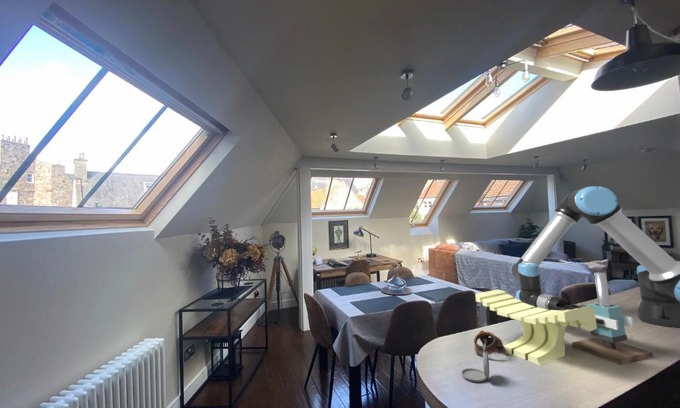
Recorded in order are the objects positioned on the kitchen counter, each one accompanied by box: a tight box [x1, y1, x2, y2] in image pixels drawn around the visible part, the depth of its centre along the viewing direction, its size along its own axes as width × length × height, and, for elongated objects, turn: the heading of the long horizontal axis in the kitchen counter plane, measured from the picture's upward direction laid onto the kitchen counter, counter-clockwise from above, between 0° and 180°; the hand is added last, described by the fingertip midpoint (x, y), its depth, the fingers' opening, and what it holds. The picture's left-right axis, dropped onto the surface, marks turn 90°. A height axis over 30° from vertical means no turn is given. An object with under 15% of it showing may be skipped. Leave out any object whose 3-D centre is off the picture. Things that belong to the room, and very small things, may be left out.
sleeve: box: [587, 302, 627, 338], centre depth 95 cm, size 6×6×9 cm
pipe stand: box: [571, 271, 654, 365], centre depth 95 cm, size 14×14×26 cm
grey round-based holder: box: [461, 343, 490, 383], centre depth 83 cm, size 8×8×10 cm
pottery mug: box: [473, 330, 508, 356], centre depth 98 cm, size 12×10×8 cm
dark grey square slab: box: [589, 331, 628, 343], centre depth 95 cm, size 6×6×2 cm
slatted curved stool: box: [475, 289, 597, 366], centre depth 98 cm, size 30×16×18 cm, turn 25°
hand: (624, 323), depth 90 cm, fingers closed on sleeve, 6 cm apart
